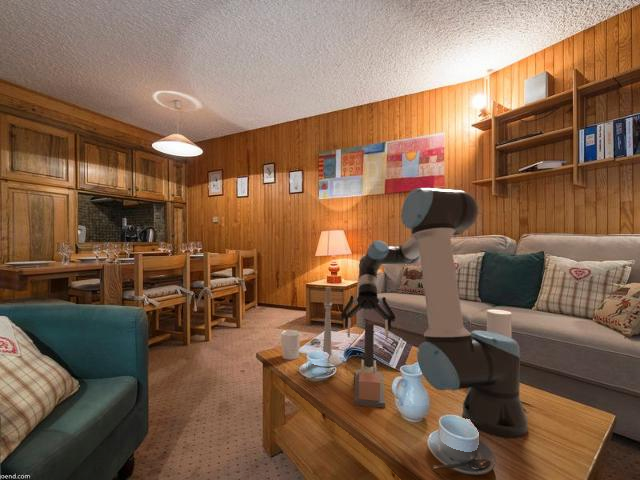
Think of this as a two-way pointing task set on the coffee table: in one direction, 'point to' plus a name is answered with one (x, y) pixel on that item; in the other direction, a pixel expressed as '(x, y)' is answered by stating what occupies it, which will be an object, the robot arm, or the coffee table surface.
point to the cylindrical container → (499, 322)
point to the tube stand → (369, 388)
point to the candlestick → (329, 331)
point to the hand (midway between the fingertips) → (367, 336)
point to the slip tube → (369, 348)
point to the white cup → (290, 344)
